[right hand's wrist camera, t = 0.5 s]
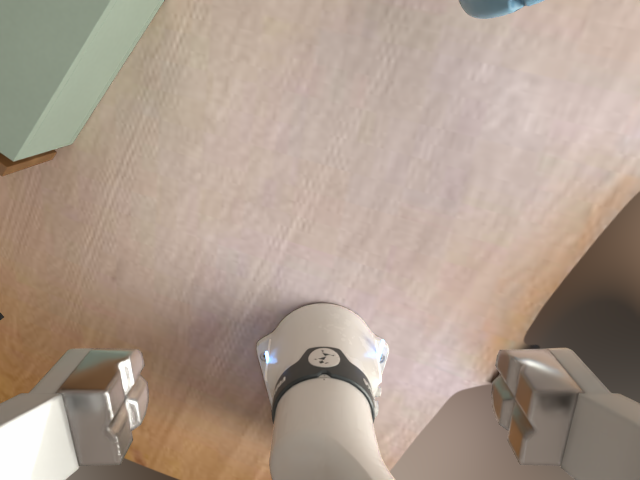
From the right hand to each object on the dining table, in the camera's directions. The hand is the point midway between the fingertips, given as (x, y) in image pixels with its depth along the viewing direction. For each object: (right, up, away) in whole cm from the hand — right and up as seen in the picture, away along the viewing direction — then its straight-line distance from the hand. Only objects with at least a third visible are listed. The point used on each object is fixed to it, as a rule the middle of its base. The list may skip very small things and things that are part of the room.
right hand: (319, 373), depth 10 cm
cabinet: (-27, +25, +41) cm, 55 cm away
